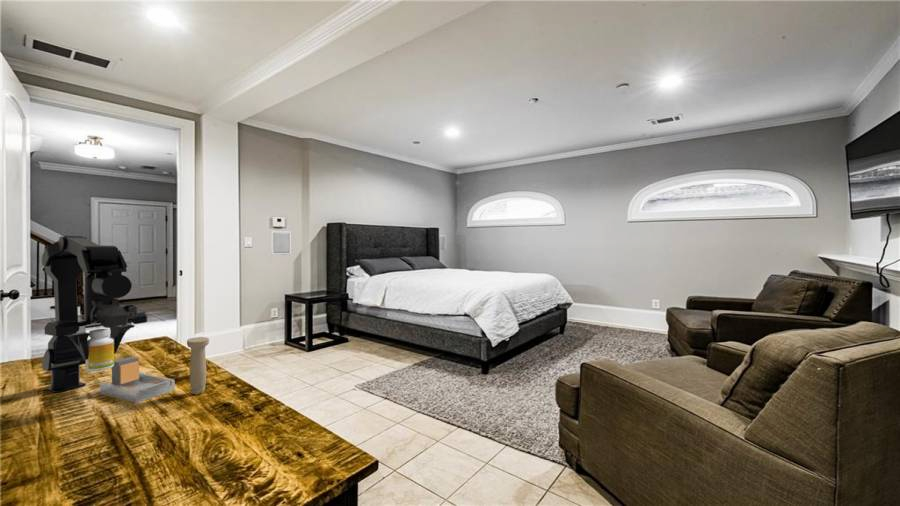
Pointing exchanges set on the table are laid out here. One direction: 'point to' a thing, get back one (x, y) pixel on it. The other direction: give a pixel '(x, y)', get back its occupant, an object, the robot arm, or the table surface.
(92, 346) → the supplement bottle
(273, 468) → the table surface
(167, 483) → the table surface
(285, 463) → the table surface
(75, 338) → the robot arm
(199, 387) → the handle
